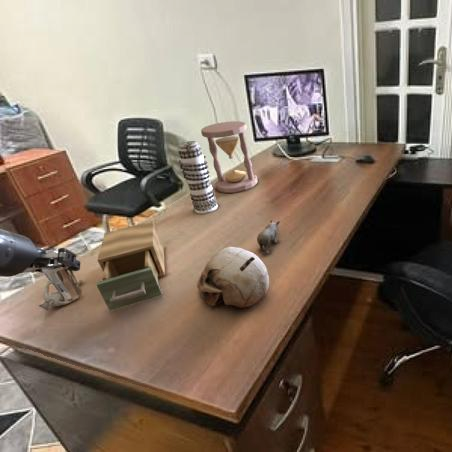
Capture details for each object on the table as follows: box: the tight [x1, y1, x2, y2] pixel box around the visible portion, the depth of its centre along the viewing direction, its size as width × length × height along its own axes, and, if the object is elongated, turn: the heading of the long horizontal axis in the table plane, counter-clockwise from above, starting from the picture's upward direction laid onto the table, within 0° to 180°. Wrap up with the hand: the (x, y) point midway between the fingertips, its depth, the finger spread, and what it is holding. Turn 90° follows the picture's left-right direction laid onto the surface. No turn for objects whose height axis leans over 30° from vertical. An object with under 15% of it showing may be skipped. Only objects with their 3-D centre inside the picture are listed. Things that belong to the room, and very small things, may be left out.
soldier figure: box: [38, 279, 83, 311], centre depth 89 cm, size 8×5×12 cm
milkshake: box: [42, 263, 83, 302], centre depth 73 cm, size 4×5×10 cm
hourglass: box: [200, 120, 259, 194], centre depth 145 cm, size 18×18×25 cm
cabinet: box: [97, 220, 166, 278], centre depth 97 cm, size 16×13×10 cm
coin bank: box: [196, 246, 270, 309], centre depth 83 cm, size 16×17×13 cm
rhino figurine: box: [256, 219, 281, 255], centre depth 105 cm, size 4×14×6 cm, turn 167°
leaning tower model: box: [176, 140, 219, 214], centre depth 126 cm, size 9×9×25 cm
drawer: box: [95, 249, 163, 312], centre depth 87 cm, size 19×12×8 cm, turn 25°
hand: (65, 267), depth 74 cm, fingers closed on milkshake, 4 cm apart
